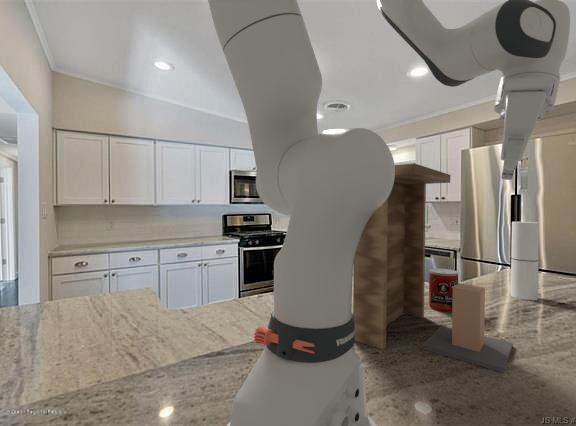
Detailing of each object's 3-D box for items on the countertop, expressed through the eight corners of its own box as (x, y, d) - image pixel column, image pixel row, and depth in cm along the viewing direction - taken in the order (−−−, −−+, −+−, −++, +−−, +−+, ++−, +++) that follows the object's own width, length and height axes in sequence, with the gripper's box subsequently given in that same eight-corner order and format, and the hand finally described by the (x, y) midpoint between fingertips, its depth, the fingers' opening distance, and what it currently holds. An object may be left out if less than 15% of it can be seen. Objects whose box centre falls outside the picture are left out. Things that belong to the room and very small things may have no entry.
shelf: (448, 322, 79) (450, 174, 78) (412, 359, 60) (414, 163, 59) (398, 310, 88) (400, 177, 87) (352, 339, 68) (354, 168, 68)
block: (484, 343, 65) (485, 287, 65) (479, 351, 61) (480, 292, 61) (457, 337, 68) (458, 283, 68) (451, 344, 64) (452, 287, 64)
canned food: (428, 309, 89) (428, 272, 89) (429, 302, 96) (430, 267, 96) (458, 314, 85) (458, 274, 85) (457, 306, 92) (458, 269, 92)
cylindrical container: (505, 295, 104) (507, 221, 104) (518, 293, 107) (519, 221, 107) (529, 301, 98) (531, 222, 97) (542, 298, 101) (543, 222, 100)
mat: (512, 346, 65) (512, 342, 65) (503, 372, 55) (504, 368, 55) (441, 329, 75) (441, 325, 75) (422, 348, 64) (422, 345, 64)
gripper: (501, 119, 66) (487, 182, 66) (505, 75, 49) (487, 160, 49) (538, 119, 62) (523, 185, 63) (557, 72, 45) (536, 164, 46)
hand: (507, 174), depth 56 cm, fingers open, 8 cm apart
